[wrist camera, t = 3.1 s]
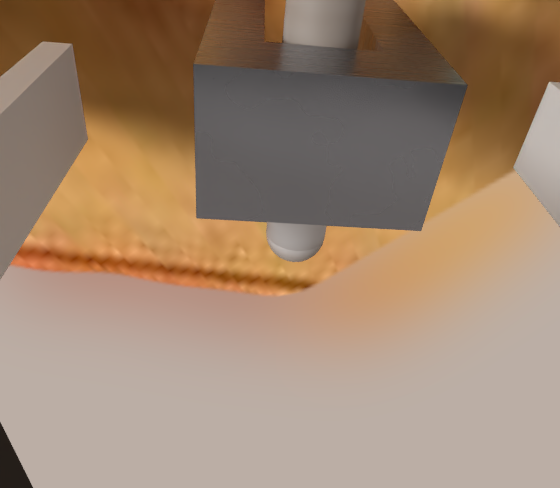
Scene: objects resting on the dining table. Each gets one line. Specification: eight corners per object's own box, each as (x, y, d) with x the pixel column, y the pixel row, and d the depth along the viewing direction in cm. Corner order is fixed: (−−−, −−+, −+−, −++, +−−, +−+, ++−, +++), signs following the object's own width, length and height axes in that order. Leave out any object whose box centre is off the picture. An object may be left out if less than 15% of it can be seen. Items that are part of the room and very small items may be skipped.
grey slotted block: (224, -26, 19) (193, 64, 11) (383, -12, 19) (467, 85, 11) (222, 80, 21) (196, 218, 13) (363, 91, 21) (421, 231, 14)
